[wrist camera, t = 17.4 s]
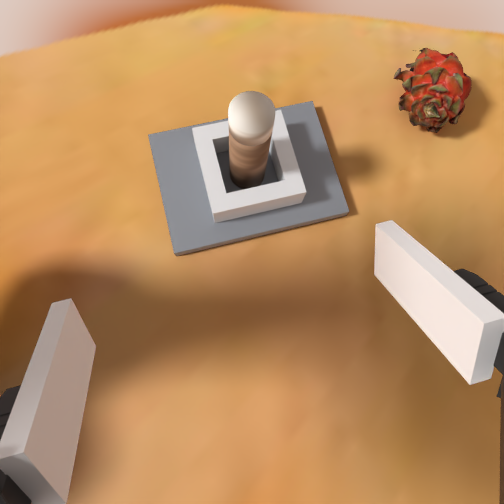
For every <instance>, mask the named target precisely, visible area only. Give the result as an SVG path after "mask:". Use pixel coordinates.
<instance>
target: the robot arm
mask: <svg viewBox="0 0 504 504" xmlns="http://www.w3.org/2000/svg"><path fill="white" fill-rule="evenodd" d="M374 275H375V276H376V277H377V278H378V279H379V281H380V282H381V283H382V284H383V285H384V286H385V288H386V289H387V290H388V291H389V292H390V293H391V295H392V296H393V297H394V298H395V299H396V300H397V301H398V303H399V304H400V305H401V306H402V307H403V308H404V310H405V311H406V312H407V313H408V314H409V315H410V316H411V318H412V319H413V320H414V321H415V322H416V323H417V325H418V326H419V327H420V328H421V329H422V330H423V331H424V333H425V334H426V335H427V336H428V337H429V338H430V340H431V341H432V342H433V343H434V344H435V345H436V346H437V348H438V349H439V350H440V351H441V352H442V353H443V355H444V356H445V357H446V358H447V359H448V360H449V361H450V363H451V364H452V365H453V366H454V367H455V368H456V370H457V371H458V372H459V373H460V374H461V375H462V376H463V378H464V379H465V380H466V381H467V382H468V383H469V385H471V384H475V383H478V382H481V381H485V380H488V379H491V376H492V373H493V369H494V366H495V367H496V368H497V369H498V370H499V371H500V372H501V373H502V374H503V377H502V380H501V384H500V387H499V391H498V394H497V397H500V398H501V433H500V504H504V296H503V295H502V294H501V293H500V292H497V290H496V289H494V288H493V287H492V286H491V285H488V283H487V282H486V281H484V280H483V279H482V278H480V277H479V276H478V275H476V274H474V273H472V272H469V271H467V270H465V269H459V270H456V271H452V270H451V269H450V268H449V267H447V266H446V265H445V264H444V263H443V262H442V261H440V260H439V259H438V258H437V257H436V256H434V255H433V254H432V253H431V252H430V251H428V250H427V249H426V248H425V247H424V246H422V245H421V244H420V243H419V242H418V241H416V240H415V239H414V238H413V237H412V236H410V235H409V234H408V233H407V232H406V231H404V230H403V229H402V228H401V227H400V226H398V225H397V224H396V223H395V222H394V221H392V220H390V221H386V222H382V223H378V224H376V231H375V269H374ZM95 350H96V345H95V343H94V341H93V339H92V337H91V335H90V333H89V332H88V330H87V328H86V326H85V324H84V322H83V320H82V318H81V316H80V314H79V312H78V310H77V308H76V306H75V304H74V302H73V300H72V299H71V298H70V299H66V300H62V301H58V302H54V303H52V304H51V307H50V310H49V312H48V315H47V318H46V320H45V323H44V326H43V328H42V331H41V334H40V336H39V339H38V342H37V344H36V347H35V350H34V352H33V355H32V358H31V360H30V363H29V366H28V368H27V371H26V374H25V376H24V379H23V382H22V384H21V386H17V387H13V388H9V389H7V390H6V391H5V392H4V393H3V395H2V396H1V397H0V504H31V503H32V504H67V499H68V494H69V488H70V483H71V478H72V472H73V467H74V462H75V456H76V451H77V446H78V440H79V435H80V430H81V424H82V419H83V414H84V408H85V403H86V398H87V392H88V387H89V382H90V376H91V371H92V366H93V360H94V355H95Z"/></svg>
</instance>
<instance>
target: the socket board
mask: <svg viewBox="0 0 504 504" xmlns="http://www.w3.org/2000/svg"><path fill="white" fill-rule="evenodd" d="M275 112H276V113H275V120H274V126H273V131H272V137H271V142H270V148H269V154H268V159H267V165H266V170H265V176H264V179H263V181H262V183H261V184H260V185H259V186H257V187H252V188H248V189H242V188H239V187H237V186H236V185H235V184H234V183H233V182H232V180H231V178H230V165H229V124H228V118H227V119H223V120H218V121H213V122H208V123H203V124H198V125H193V126H189V127H184V128H179V129H174V130H169V131H164V132H159V133H155V134H150V135H148V136H149V141H150V145H151V150H152V155H153V159H154V164H155V168H156V173H157V177H158V182H159V186H160V191H161V195H162V200H163V205H164V209H165V214H166V218H167V223H168V227H169V232H170V236H171V241H172V245H173V250H174V254H175V255H176V256H179V255H183V254H187V253H192V252H196V251H200V250H204V249H208V248H213V247H217V246H221V245H225V244H229V243H233V242H238V241H242V240H246V239H250V238H254V237H258V236H263V235H267V234H271V233H275V232H279V231H284V230H288V229H292V228H296V227H300V226H304V225H309V224H313V223H317V222H321V221H325V220H330V219H334V218H338V217H342V216H346V215H347V214H348V213H349V209H348V206H347V203H346V200H345V197H344V194H343V191H342V188H341V185H340V182H339V179H338V176H337V173H336V170H335V167H334V164H333V161H332V158H331V155H330V152H329V149H328V146H327V143H326V140H325V137H324V134H323V131H322V128H321V125H320V122H319V119H318V116H317V113H316V110H315V107H314V104H313V101H310V102H305V103H300V104H295V105H291V106H286V107H281V108H276V109H275Z"/></svg>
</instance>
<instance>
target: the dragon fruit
mask: <svg viewBox="0 0 504 504" xmlns="http://www.w3.org/2000/svg"><path fill="white" fill-rule="evenodd" d="M413 51H414V50H413ZM420 51H421V53H420V54H419V56H418V57H417V58H416V61H415V63H412V64H406V67H407V68H410V67H412V68H411V69H410V71H402V72H401V68H399V69H398V70H397V72H396V73H395V76H394V79H399V80H402V81H403V82H404V83H403V84H402V85H403V88H404V89H405V91H406V93H404V94H403V95H402V96H401V97H400V102H399V109H400V111H401V110H406V111H409V112H410V122H411V124H412V125H413V126H417V125H422V126H425V127H426V128H427V130H428V131H431V132H436V133H437V132H438V131H439V130H440V129H441V128H442V127H443V126H444V125H445V124H446V123H447V121H449V122H450V123H451V124H457V120H458V118H459V116H460V115H461V113H462V111H463V110H464V107H465V104H464V100H465V99H466V98H467V97H468V95H469V93H470V91H471V78H470V77H469V76H467V75H466V74H465V73H463V67H462V64H461V63H460V61H459V60H458V57H457V56H456V55H455V54H454V53H450V54H441V53H439V52H438V51H436V50H430V49H428V48H422V50H420Z"/></svg>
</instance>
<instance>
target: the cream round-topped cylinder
mask: <svg viewBox="0 0 504 504" xmlns="http://www.w3.org/2000/svg"><path fill="white" fill-rule="evenodd" d="M275 113H276V112H275V107H274V104H273V102H272V101H271V100H270V99H269V98H268V97H267V96H266V95H264V94H262V93H259V92H255V91H247V92H243V93H240V94H238V95H237V96H236V97H234V98H233V100H232V101H231V103H230V105H229V108H228V124H229V165H230V178H231V180H232V182H233V183H234V184H235V185H236V186H237V187H239V188H242V189H248V188H252V187H257V186H259V185H260V184H261V183H262V181H263V179H264V176H265V170H266V165H267V159H268V154H269V148H270V142H271V137H272V131H273V126H274V120H275Z"/></svg>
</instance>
